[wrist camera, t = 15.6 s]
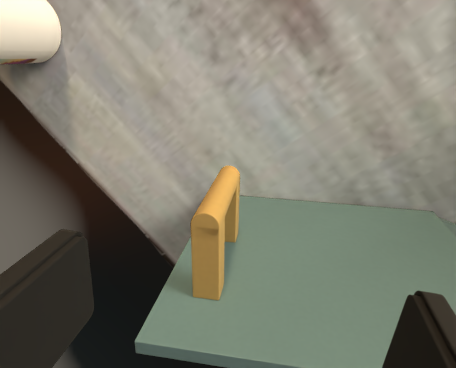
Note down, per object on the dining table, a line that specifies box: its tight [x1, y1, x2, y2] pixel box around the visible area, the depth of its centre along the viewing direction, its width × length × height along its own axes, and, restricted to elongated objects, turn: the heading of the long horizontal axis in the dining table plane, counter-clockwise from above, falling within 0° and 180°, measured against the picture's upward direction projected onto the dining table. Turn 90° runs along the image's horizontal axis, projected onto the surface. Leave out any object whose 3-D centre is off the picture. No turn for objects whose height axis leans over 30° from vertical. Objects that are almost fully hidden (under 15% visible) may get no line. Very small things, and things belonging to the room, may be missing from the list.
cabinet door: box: [135, 166, 456, 368], centre depth 28 cm, size 8×26×24 cm, turn 90°
